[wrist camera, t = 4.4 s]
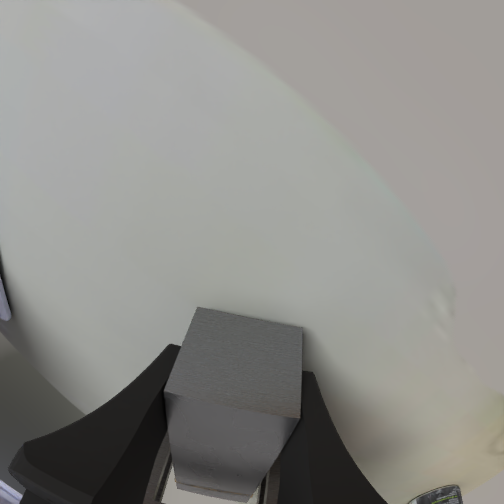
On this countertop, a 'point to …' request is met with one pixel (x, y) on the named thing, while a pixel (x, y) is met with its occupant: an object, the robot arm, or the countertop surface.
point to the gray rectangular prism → (232, 402)
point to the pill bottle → (440, 496)
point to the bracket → (161, 462)
